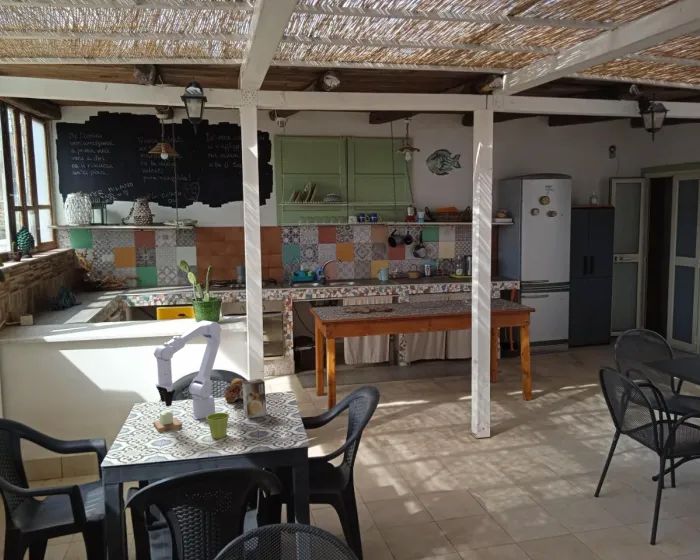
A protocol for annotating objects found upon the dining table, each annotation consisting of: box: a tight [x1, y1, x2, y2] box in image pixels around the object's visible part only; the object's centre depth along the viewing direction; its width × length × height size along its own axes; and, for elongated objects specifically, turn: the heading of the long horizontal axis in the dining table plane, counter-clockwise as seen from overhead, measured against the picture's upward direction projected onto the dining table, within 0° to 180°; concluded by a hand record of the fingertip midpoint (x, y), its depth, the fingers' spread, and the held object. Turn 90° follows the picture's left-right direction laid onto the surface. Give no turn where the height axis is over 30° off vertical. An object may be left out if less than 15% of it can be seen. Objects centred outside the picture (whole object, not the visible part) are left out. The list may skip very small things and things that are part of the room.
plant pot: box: [205, 412, 230, 439], centre depth 255 cm, size 9×9×9 cm
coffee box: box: [242, 378, 267, 419], centre depth 281 cm, size 9×6×16 cm
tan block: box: [153, 417, 183, 433], centre depth 268 cm, size 10×10×2 cm
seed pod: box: [221, 377, 244, 403], centre depth 304 cm, size 13×16×15 cm
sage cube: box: [159, 410, 174, 425], centre depth 268 cm, size 4×4×4 cm
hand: (166, 403), depth 268 cm, fingers open, 7 cm apart
